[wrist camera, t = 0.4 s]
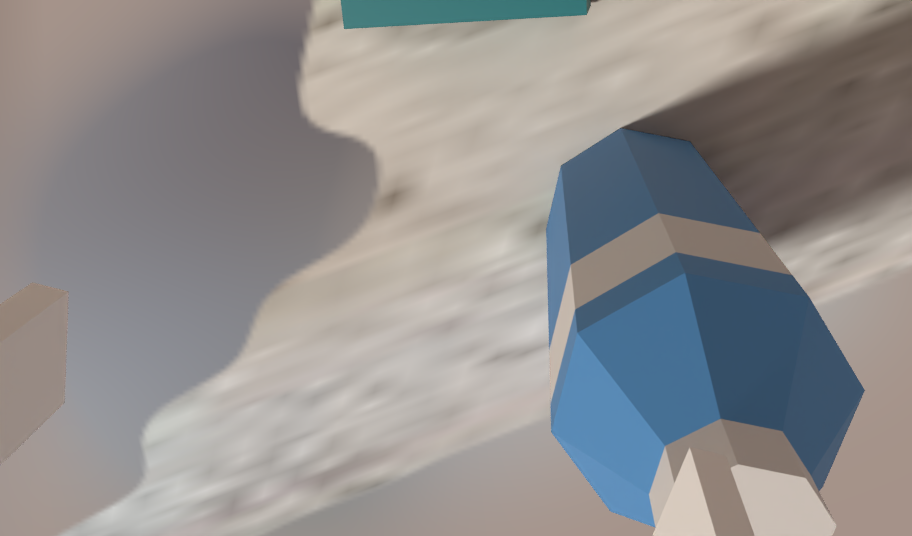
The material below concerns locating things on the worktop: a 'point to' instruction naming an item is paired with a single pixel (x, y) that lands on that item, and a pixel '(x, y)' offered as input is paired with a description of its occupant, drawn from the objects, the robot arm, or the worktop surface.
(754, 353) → the water bottle
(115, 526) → the worktop surface
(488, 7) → the teal l-shaped bracket
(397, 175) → the worktop surface
